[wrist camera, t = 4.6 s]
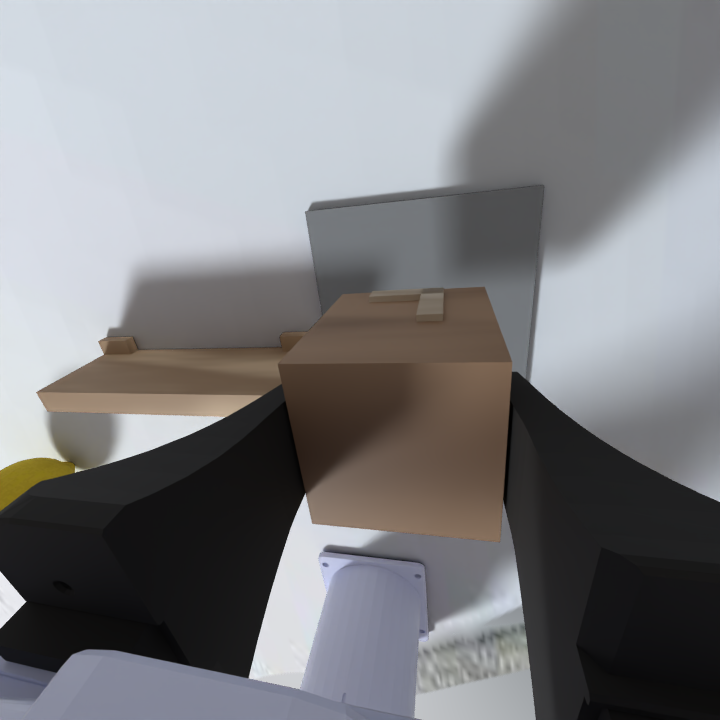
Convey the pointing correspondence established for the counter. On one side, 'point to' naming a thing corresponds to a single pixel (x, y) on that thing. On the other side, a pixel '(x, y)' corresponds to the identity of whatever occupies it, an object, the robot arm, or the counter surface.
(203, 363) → the screen
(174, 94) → the counter surface
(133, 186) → the counter surface
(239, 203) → the counter surface
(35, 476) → the lemon
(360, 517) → the letter block
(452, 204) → the mat
